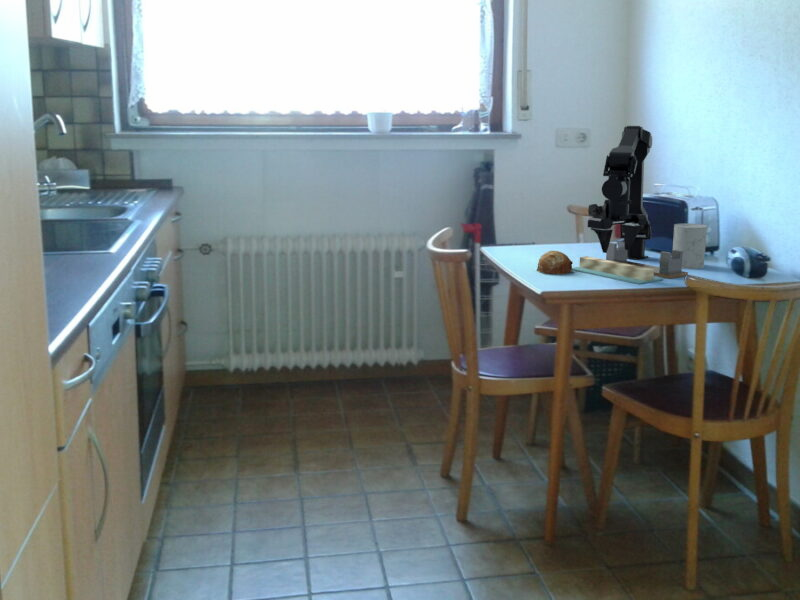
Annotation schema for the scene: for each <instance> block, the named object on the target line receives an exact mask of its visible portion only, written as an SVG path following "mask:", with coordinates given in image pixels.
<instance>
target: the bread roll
mask: <svg viewBox="0 0 800 600" xmlns="http://www.w3.org/2000/svg"><path fill="white" fill-rule="evenodd" d="M572 268H573V261H572V260H571V259H570V258H569V256H568V255H567V254H565V253H564V252H562V251H558V250H548V251H546V252H545V253H543V254H542V255H541V256H540V258H539V259H538V263H537V268H536V271H538V272H539V273H542V274H545V275H565V274H569V273H571V272H572V271H573V270H572Z"/></svg>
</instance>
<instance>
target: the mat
mask: <svg viewBox="0 0 800 600" xmlns="http://www.w3.org/2000/svg"><path fill="white" fill-rule="evenodd" d="M571 271H575V272H580V273H583V274H584V273H585V274H589V275H593V276H598V277H602V278H603V277H604V278H607V279H612V280H617V281H623V282H626V283H632V284H636V285H641V284H642V285H643V284H647V283H653V282H658V281H663V280H664V278H663V277H657V276H653V280H649V281H643V280H639V279H634V278H629V277H624V276H619V275H615V274H610V273H605V272H600V271H595V270H590V269H586V268H581V267H580V266H576V267H572V270H571Z"/></svg>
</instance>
